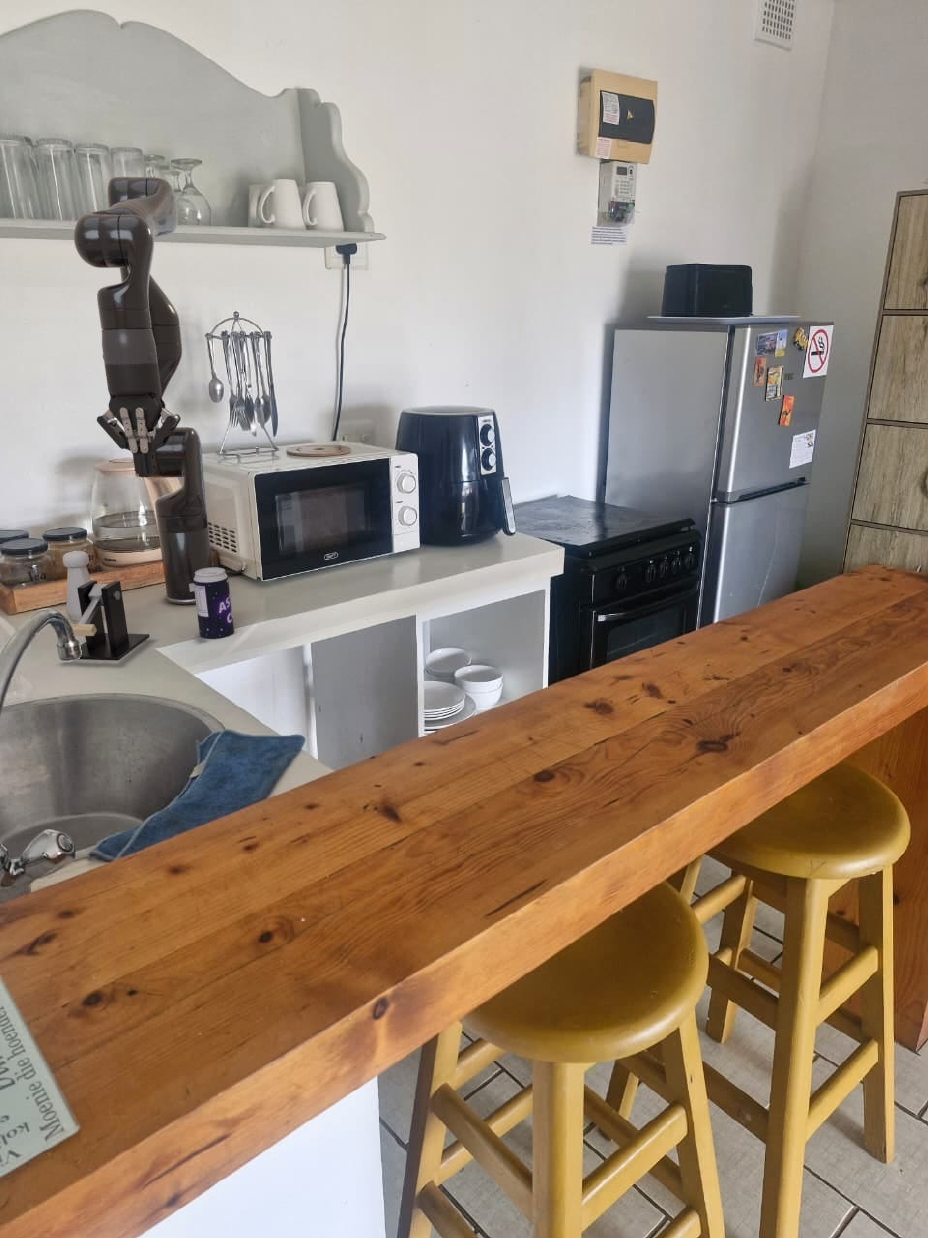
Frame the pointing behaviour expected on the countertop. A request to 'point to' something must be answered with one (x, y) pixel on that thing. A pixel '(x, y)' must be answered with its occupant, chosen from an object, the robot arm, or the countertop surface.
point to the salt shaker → (75, 580)
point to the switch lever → (90, 613)
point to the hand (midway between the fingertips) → (146, 476)
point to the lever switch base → (108, 625)
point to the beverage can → (213, 603)
